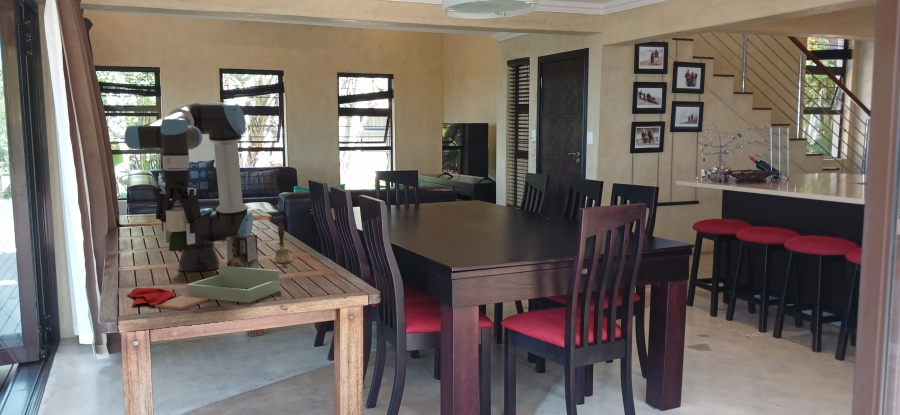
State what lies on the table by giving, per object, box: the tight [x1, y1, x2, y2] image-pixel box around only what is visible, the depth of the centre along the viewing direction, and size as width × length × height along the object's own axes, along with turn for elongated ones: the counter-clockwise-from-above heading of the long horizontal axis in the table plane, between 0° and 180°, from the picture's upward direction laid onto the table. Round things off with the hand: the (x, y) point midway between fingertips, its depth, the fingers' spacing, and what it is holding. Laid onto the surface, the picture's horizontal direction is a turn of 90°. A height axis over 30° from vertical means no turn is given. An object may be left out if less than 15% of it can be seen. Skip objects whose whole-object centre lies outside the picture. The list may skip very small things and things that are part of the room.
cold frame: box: [186, 265, 281, 304], centre depth 222 cm, size 24×17×7 cm
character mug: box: [166, 208, 191, 253], centre depth 207 cm, size 11×7×13 cm, turn 32°
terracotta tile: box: [154, 295, 209, 311], centre depth 210 cm, size 10×12×1 cm
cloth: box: [126, 287, 176, 306], centre depth 216 cm, size 26×14×2 cm, turn 29°
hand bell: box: [271, 222, 294, 264], centre depth 278 cm, size 8×8×16 cm
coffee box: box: [226, 234, 259, 269], centre depth 244 cm, size 9×6×16 cm
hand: (179, 242), depth 208 cm, fingers closed on character mug, 8 cm apart
